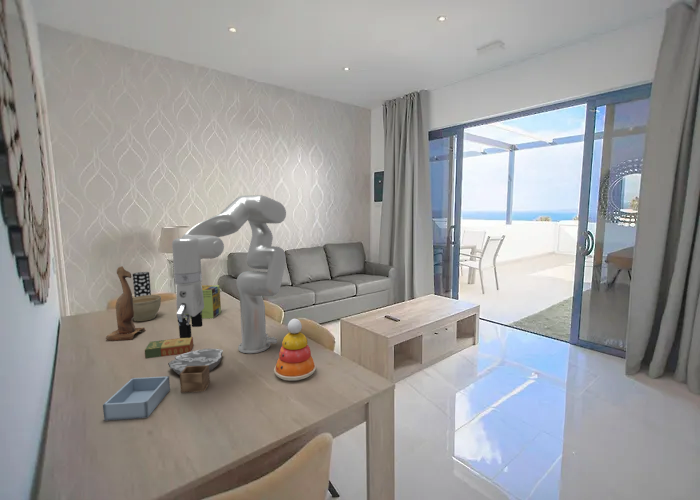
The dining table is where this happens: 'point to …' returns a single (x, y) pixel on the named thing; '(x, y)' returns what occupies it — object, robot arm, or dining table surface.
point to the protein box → (211, 301)
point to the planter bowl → (146, 307)
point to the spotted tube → (141, 284)
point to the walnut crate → (194, 378)
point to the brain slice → (197, 359)
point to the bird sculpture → (124, 311)
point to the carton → (169, 347)
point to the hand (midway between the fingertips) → (191, 331)
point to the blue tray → (136, 398)
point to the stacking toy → (294, 355)
